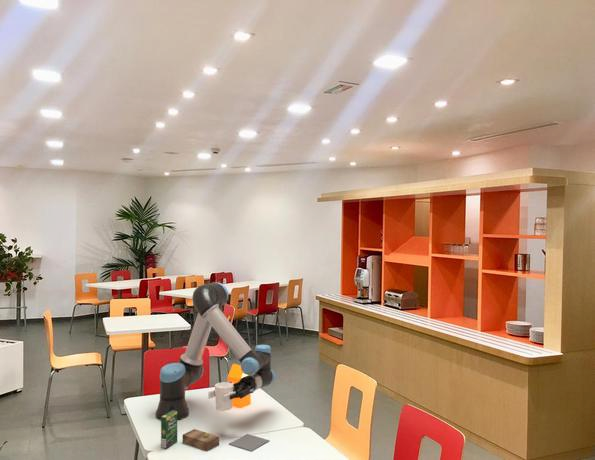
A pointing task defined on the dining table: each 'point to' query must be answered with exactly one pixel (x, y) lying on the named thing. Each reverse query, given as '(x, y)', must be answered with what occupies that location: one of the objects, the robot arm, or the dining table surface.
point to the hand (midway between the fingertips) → (216, 397)
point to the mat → (249, 442)
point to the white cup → (220, 391)
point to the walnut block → (201, 440)
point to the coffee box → (169, 429)
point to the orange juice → (235, 377)
